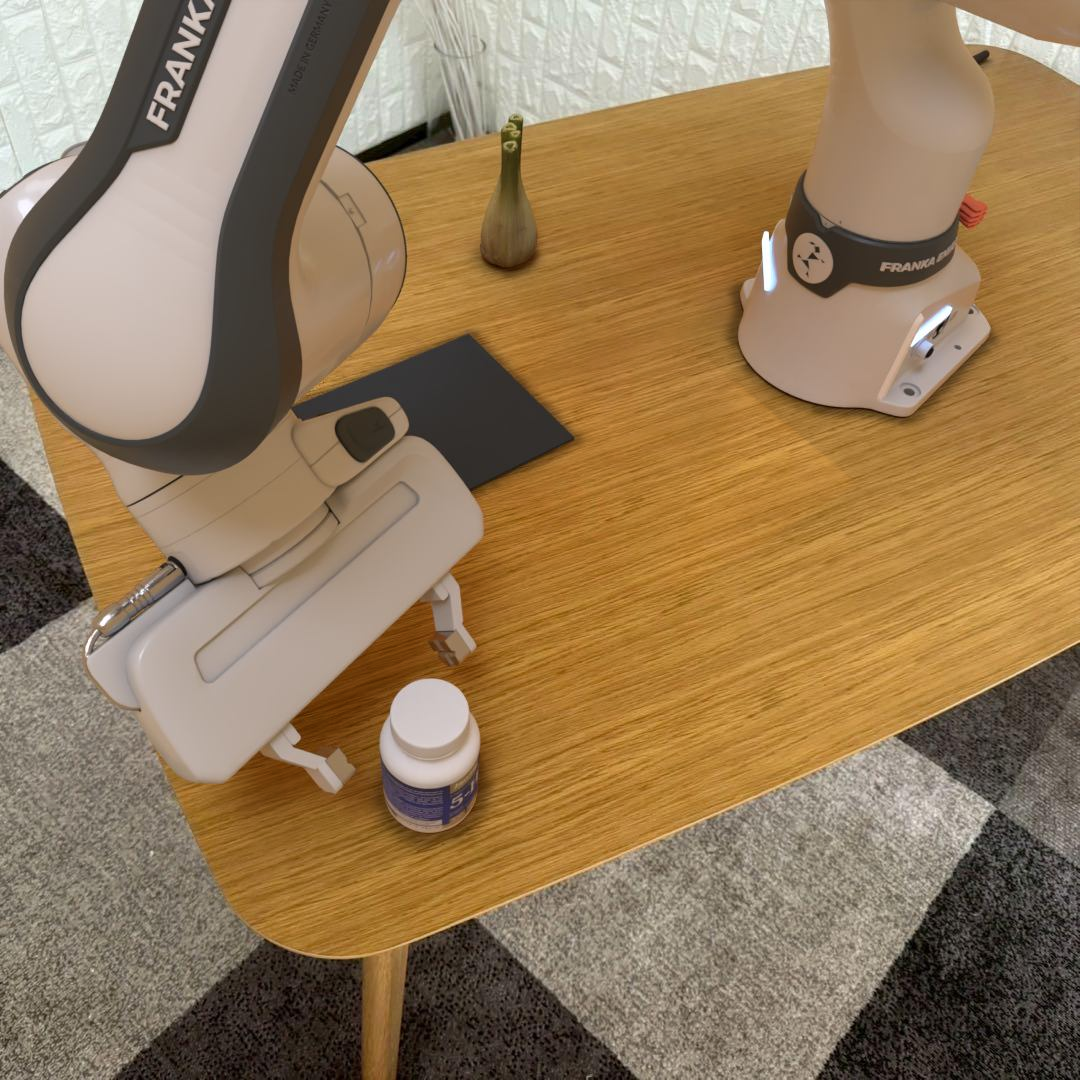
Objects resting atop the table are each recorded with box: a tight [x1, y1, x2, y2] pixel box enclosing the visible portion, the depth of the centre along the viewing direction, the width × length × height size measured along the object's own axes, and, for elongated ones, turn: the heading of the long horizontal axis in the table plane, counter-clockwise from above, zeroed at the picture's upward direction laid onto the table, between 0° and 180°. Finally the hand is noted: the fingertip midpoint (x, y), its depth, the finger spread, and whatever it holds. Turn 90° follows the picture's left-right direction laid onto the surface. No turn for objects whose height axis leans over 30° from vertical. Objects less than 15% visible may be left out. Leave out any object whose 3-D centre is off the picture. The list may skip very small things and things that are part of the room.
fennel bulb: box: [479, 113, 539, 268], centre depth 85 cm, size 6×5×12 cm
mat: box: [291, 333, 575, 492], centre depth 76 cm, size 16×14×1 cm
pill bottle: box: [379, 677, 481, 834], centre depth 54 cm, size 5×5×9 cm
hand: (404, 717), depth 53 cm, fingers open, 8 cm apart
